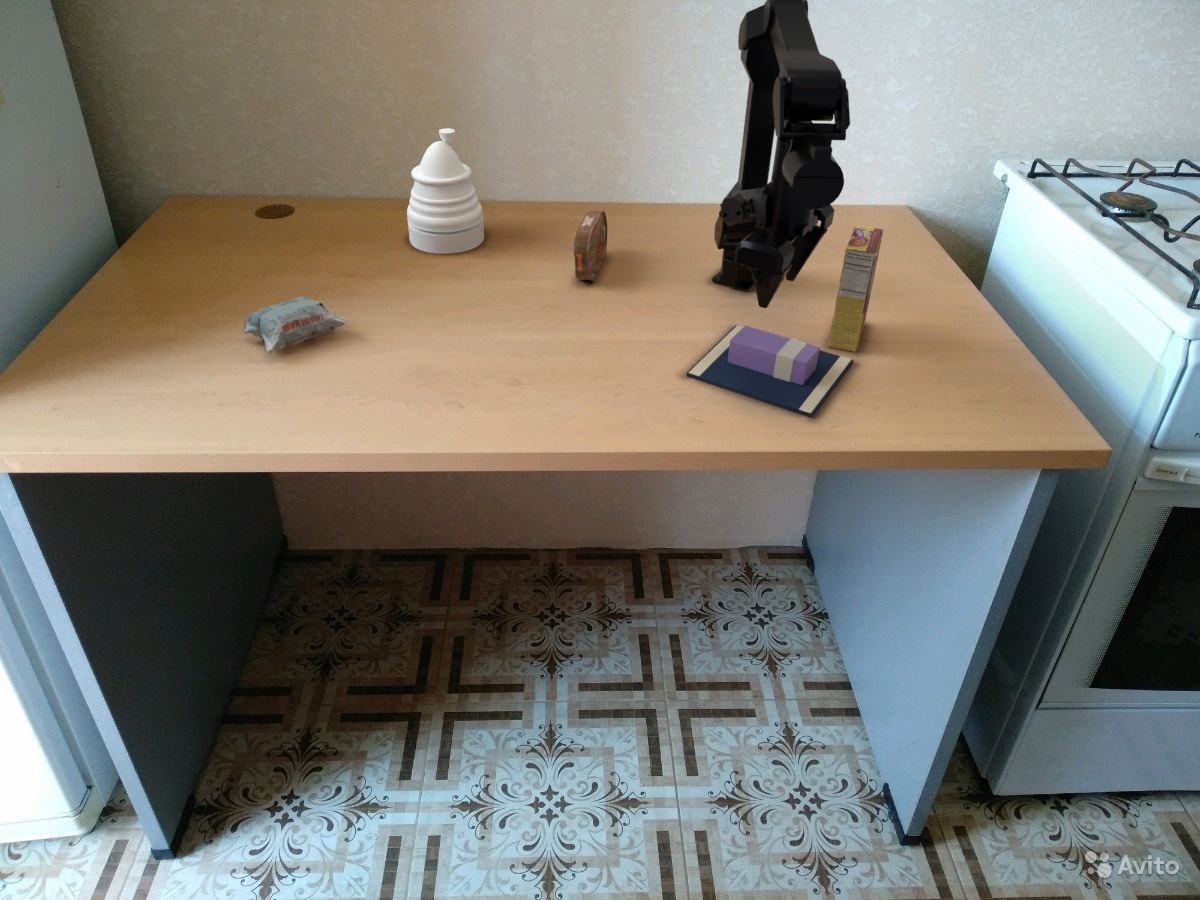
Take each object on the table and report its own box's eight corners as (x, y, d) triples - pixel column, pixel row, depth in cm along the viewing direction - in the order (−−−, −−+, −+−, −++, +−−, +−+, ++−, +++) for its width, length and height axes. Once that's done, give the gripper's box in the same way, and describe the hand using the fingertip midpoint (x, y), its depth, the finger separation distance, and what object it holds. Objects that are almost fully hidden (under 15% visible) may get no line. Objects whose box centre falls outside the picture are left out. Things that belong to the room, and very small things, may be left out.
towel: (735, 328, 131) (736, 324, 131) (852, 363, 124) (853, 359, 123) (686, 376, 120) (686, 371, 120) (812, 418, 113) (812, 413, 112)
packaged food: (349, 336, 126) (343, 305, 123) (270, 364, 120) (262, 332, 117) (320, 315, 131) (314, 284, 128) (243, 340, 125) (235, 309, 122)
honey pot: (445, 218, 162) (437, 116, 151) (499, 236, 156) (494, 132, 145) (393, 240, 153) (381, 135, 142) (448, 260, 147) (439, 152, 136)
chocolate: (742, 347, 126) (745, 324, 124) (815, 369, 121) (820, 346, 119) (727, 362, 122) (729, 339, 120) (802, 386, 118) (806, 362, 116)
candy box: (835, 319, 134) (855, 223, 125) (864, 325, 133) (886, 228, 124) (825, 347, 127) (845, 247, 118) (855, 353, 126) (878, 253, 117)
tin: (590, 289, 140) (591, 239, 135) (570, 287, 141) (570, 237, 136) (608, 251, 152) (610, 203, 147) (590, 249, 152) (591, 201, 147)
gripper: (764, 143, 117) (749, 253, 126) (701, 186, 104) (690, 304, 114) (845, 160, 113) (823, 273, 122) (790, 207, 100) (771, 328, 109)
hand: (776, 293), depth 117 cm, fingers open, 9 cm apart
